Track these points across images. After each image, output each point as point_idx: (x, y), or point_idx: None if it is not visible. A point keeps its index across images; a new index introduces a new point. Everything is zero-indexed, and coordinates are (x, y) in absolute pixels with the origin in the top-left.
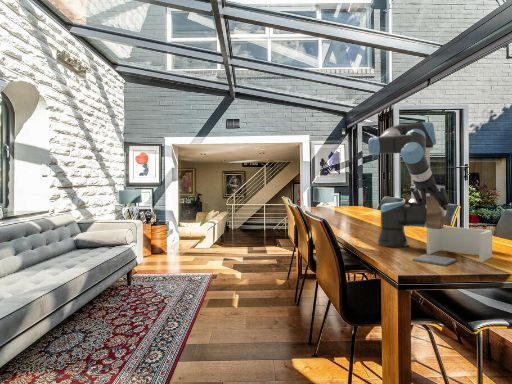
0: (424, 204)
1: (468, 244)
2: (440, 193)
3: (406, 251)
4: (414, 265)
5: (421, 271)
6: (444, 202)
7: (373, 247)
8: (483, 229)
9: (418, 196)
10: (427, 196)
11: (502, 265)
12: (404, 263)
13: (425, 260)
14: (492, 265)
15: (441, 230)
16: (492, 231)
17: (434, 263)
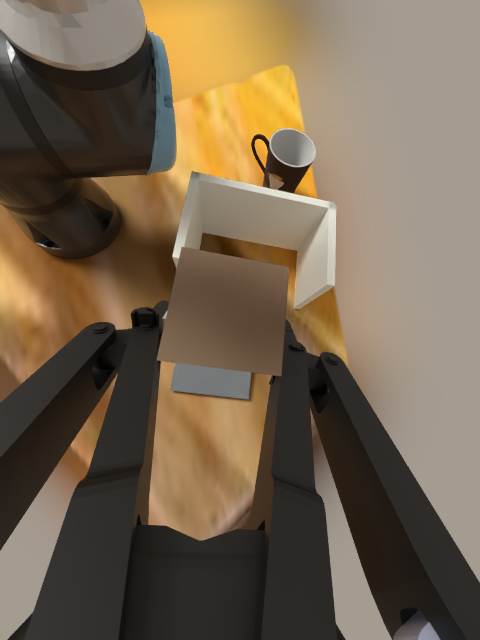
0: (158, 362)
1: (267, 229)
2: (366, 573)
3: (133, 289)
4: (187, 441)
5: (216, 494)
6: (311, 405)
7: (30, 287)
8: (291, 130)
9: (70, 419)
10: (166, 360)
11: (331, 315)
12: (160, 436)
13: (202, 388)
14: (318, 326)
15: (203, 192)
16: (315, 154)
17: (225, 396)
